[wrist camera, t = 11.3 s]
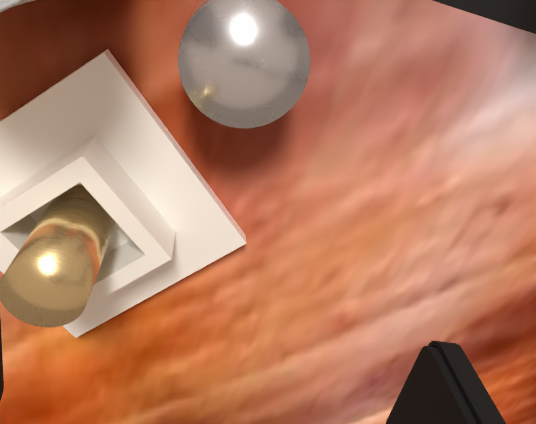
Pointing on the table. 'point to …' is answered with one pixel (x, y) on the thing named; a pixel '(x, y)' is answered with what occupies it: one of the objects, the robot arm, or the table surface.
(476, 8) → the black-topped pedestal
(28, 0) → the grey cylinder
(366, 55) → the table surface
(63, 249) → the cylinder
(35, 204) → the flange socket
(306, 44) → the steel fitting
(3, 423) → the table surface
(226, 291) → the table surface
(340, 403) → the table surface
